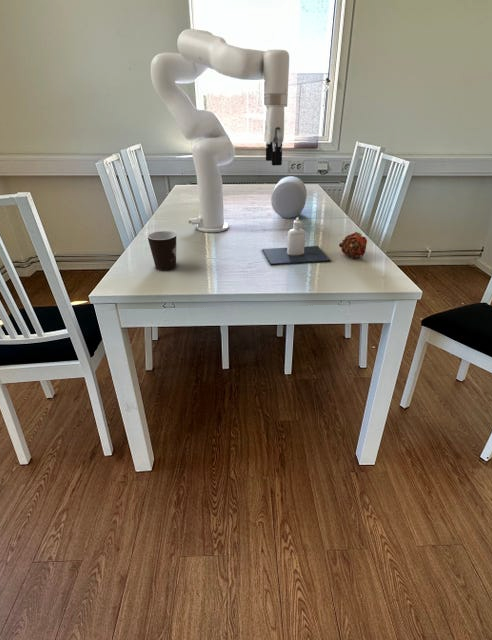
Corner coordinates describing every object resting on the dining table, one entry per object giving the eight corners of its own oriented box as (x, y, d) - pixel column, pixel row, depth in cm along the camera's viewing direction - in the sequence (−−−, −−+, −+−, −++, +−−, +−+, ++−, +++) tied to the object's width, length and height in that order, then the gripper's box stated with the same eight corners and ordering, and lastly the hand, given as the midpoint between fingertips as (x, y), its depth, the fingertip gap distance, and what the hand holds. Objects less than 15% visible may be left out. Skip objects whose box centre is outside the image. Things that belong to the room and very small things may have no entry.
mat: (270, 265, 126) (270, 263, 126) (262, 250, 137) (262, 248, 137) (330, 261, 129) (330, 259, 129) (317, 247, 140) (317, 245, 140)
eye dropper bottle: (302, 257, 130) (305, 220, 124) (286, 255, 132) (287, 218, 125) (304, 252, 134) (307, 216, 127) (288, 251, 135) (290, 215, 128)
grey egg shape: (255, 205, 170) (271, 185, 187) (277, 232, 175) (290, 210, 192) (288, 177, 158) (301, 158, 175) (310, 206, 163) (321, 185, 180)
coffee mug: (166, 274, 119) (162, 241, 114) (146, 268, 123) (141, 236, 117) (191, 262, 127) (188, 231, 122) (171, 257, 131) (167, 227, 126)
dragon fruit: (352, 267, 129) (346, 259, 139) (375, 252, 126) (367, 245, 137) (339, 246, 126) (333, 239, 136) (363, 230, 123) (355, 224, 134)
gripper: (258, 100, 127) (257, 159, 137) (268, 102, 113) (267, 167, 123) (280, 100, 128) (278, 158, 138) (294, 102, 114) (290, 167, 124)
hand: (273, 162), depth 130 cm, fingers open, 9 cm apart
